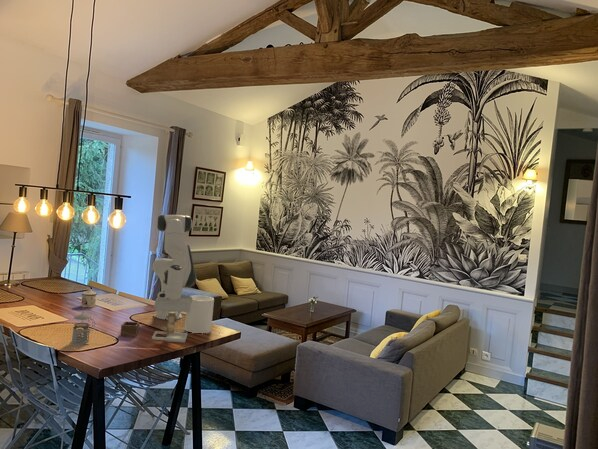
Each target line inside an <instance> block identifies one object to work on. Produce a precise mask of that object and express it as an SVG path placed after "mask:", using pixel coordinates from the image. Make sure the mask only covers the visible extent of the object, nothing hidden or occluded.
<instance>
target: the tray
mask: <svg viewBox="0 0 598 449" xmlns="http://www.w3.org/2000/svg"><path fill="white" fill-rule="evenodd" d="M188 334H189V333H188V332H177V331H174V335H167V331H163V330H162V331H160V330H155V331H154V332H153V334H152V336H151V340H154V341H155V340H158V341H164V342H167V343H169V342H170V343H186V341H187V338H188ZM157 335H166V336H164V337H163V336H157Z"/></svg>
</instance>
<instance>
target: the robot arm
mask: <svg viewBox="0 0 598 449" xmlns="http://www.w3.org/2000/svg"><path fill="white" fill-rule="evenodd" d="M155 223H156V224H155V225H156V226H155V227H156V228H157V230H158V231H160V232H164V244H163V245H164V246H163V247H164V248H163V249H164V252H165V253H166V254H168V255H169V256H170V257H171V258H165V257H164V258H163V257H162V258H156V259H155V260H154V261H153V263H152V271H153V272H154V273H155V274H156V275H157V276H158V278H159V280H160V284H161V285H160V286H161V289H160V291H159V292H158V293H157V297H156V299H155V301H154V306H153V309H154V310H155V313H154V314H152V317H153V316H154V318H157V319H160V320H165V319H166V320H167V321H168V314H169V312H175V313H176V316H175V320H179V319H182V318H183V316H182V313H186V312H190V311H191V303H192V297H191V296H192V295H186V294H183V291H184V290H183V287H186V288H192V287H193V286H195V284H196V281H197V274H196V270H195V267H194V263H193V262H194V261H193V254H192V250H191V248H190V246H189V244H187V242H186V240H185V233H188V232H190V231H191V230H192V228H193V220H192V217H191V216H189V215H182V214H161V215H159V216H157V219H156V221H155ZM181 312H182V313H181Z"/></svg>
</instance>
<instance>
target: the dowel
mask: <svg viewBox="0 0 598 449" xmlns="http://www.w3.org/2000/svg"><path fill="white" fill-rule="evenodd" d="M175 316H176V313H175V312H169V314H168V320H167V325H166V332H167V334H166V336H167V335H174V332H175V326H176V319H175Z"/></svg>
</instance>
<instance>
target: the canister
mask: <svg viewBox="0 0 598 449" xmlns="http://www.w3.org/2000/svg"><path fill="white" fill-rule="evenodd" d="M190 296H191V297H192V303H191V311H190V312H185V321H184V331H185V330H186V331H189V332H192V333H191V334H193V333H202V334H201V335H204V334H203V333H206V334H210V333H211V331H212V327H213V326H212V323H213V314H214V305H215V304H214V303H215V298H214V297H212V296H208V295H201V294H200V295H199V294H198V295H197V294H195V295H190ZM186 331H185V332H186Z"/></svg>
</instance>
